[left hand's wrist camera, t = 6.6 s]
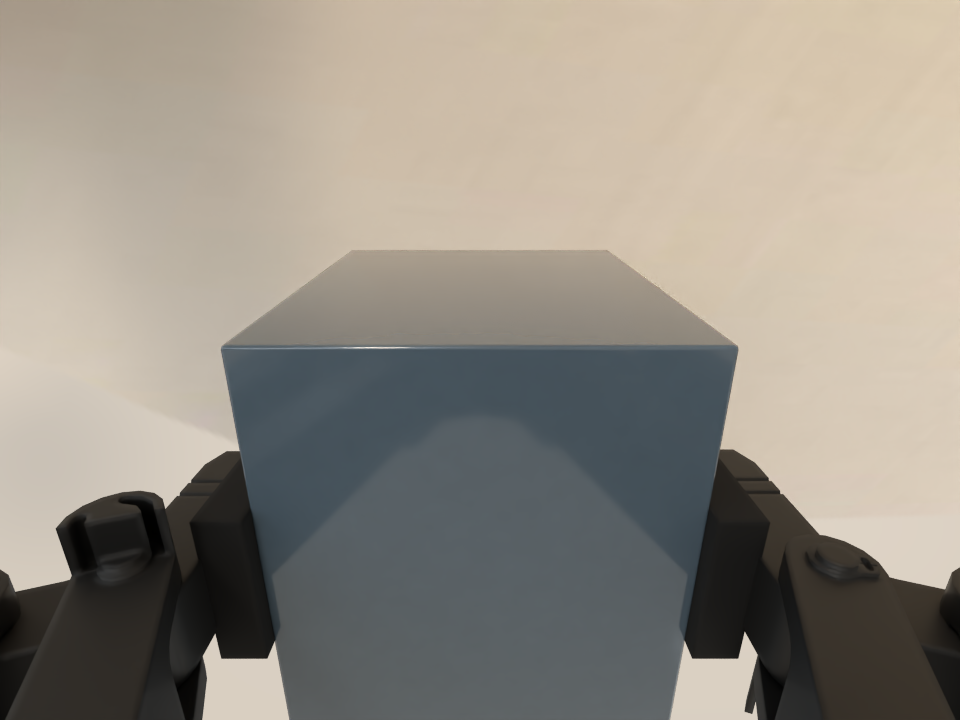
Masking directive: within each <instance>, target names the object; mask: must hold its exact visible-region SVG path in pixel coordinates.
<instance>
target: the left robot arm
mask: <svg viewBox="0 0 960 720" xmlns="http://www.w3.org/2000/svg"><path fill="white" fill-rule="evenodd" d="M56 531H57V534H58V537H59V540H60V542H61V545H62V548H63V551H64V554H65V557H66V560H67V563H68V565H69V568H70V571H71V574H72V577H71V579H70V580H68V581H64V582H59V583H55V584H50V585H45V586H41V587H36V588H31V589H27V590H22V591H18V592H15V590H14V588H13V585H12V583H11V580H10V578H9V575H8V574H6V573H5V572H3V571H2V570H0V720H202V716H203V708H204V699H205V690H206V682H207V676H206V669H205V664H204V660H203V654H204V653H205V651H206V649H207V647H208V645H209V644H210V642H211V640H212V638H213V636H214V635H215V634H216V638H217V642H218V646H219V650H220V655H221V658H222V659H266V658H268V656H269V653H270V651H271V649H272V646H273V644H274V642H275V639H274V633H273V628H272V622H271V617H270V611H269V606H268V601H267V595H266V590H265V584H264V579H263V574H262V568H261V563H260V557H259V552H258V547H257V541H256V536H255V530H254V525H253V520H252V514H251V509H250V503H249V498H248V493H247V487H246V482H245V476H244V471H243V466H242V460H241V455H240V451H227V452H225V453H223V454H222V455H220V456H218V457H217V458H215V459H213V460H212V461H210V462H209V463H207V464H205V465H204V466H203V468H202V469H201V470H200V471H199V472H198V473H197V474H196V475H195V477H194V478H193V479H192V480H191V483H188V484H187V486H186V487H185V488H184V489H183V490H182V491H181V492H180V496H177V497H176V498H175V499H174V500H173V501H172V502H171V504H170V505H169V506H168V507H167V508H166V509H165V506H164V503H163V499H162V498H161V497H159V496H158V495H156V494H155V493H151V492H144V491H133V492H122V493H118V494H114V495H110V496H107V497H103V498H100V499H98V500H96V501H93V502H91V503H89V504H86V505H84V506H82V507H80V508H79V509H77V510H76V511H74V512H73V513H71V514H70V515H68V516H67V517H66V518H65V519H64V520H63V521H62V522H61V523H60V524H59V525H58V527H57V528H56ZM744 632H746V634H747V636H748V638H749V640H750V641H751V643H752V645H753V647H754V649H755V650H756V652H757V654H758V656H757V660H756V664H755V668H754V672H753V676H752V680H751V684H750V688H749V692H748V696H747V700H746V706H745V712H748V713H751V714H752V713H753V709H754V705H755V702H756V706H757V715H758V720H960V568H958V569H957V570H955V571H954V572H952V574H951V576H950V579H949V581H948V584H947V586H946V589H945V590H944V589H939V588H935V587H930V586H926V585H921V584H916V583H912V582H907V581H902V580H898V579H894V578H890V577H889V576H888V574H887V573H886V571H885V570H884V569H883V567H882V566H881V565H880V564H879V562H877V561H876V560H875V559H874V558H872V557H871V556H870V555H868V554H867V553H866V552H864V551H863V550H861V549H859V548H857V547H855V546H853V545H851V544H849V543H847V542H845V541H841V540H838V539H835V538H831V537H828V536H823V535H819V534H818V533H817V532H816V530H815V529H814V528H813V527H812V526H811V525H810V524H809V523H808V521H807V520H806V519H805V518H804V517H803V516H802V515H801V514H800V513H799V511H798V510H797V509H796V508H795V507H794V506H793V505H792V504H791V503H790V501H789V500H788V499H787V498H786V497H785V496H784V495H783V494H780V490H779V489H778V488H777V487H776V486H775V485H774V484H773V482H772V481H769V478H768V477H767V476H766V475H765V474H764V472H763V471H762V470H761V469H760V468H759V467H758V466H757V465H756V464H755V463H754V462H753V461H751V460H749V459H748V458H746V457H745V456H743V455H741V454H740V453H738V452H736V451H735V450H720V452H719V457H718V463H717V468H716V473H715V479H714V484H713V490H712V495H711V500H710V506H709V511H708V517H707V522H706V528H705V533H704V538H703V544H702V549H701V555H700V560H699V566H698V571H697V576H696V582H695V587H694V593H693V598H692V603H691V609H690V614H689V620H688V625H687V631H686V636H685V642H686V645H687V647H688V649H689V652H690V654H691V656H692V658H693V659H737V658H738V657H739V653H740V649H741V644H742V640H743V636H744Z"/></svg>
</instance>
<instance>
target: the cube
mask: <svg viewBox="0 0 960 720" xmlns="http://www.w3.org/2000/svg"><path fill="white" fill-rule="evenodd" d="M221 352H222V357H223V363H224V368H225V374H226V379H227V384H228V390H229V395H230V401H231V406H232V411H233V417H234V422H235V428H236V433H237V439H238V444H239V449H240V455H241V460H242V466H243V471H244V476H245V482H246V487H247V493H248V498H249V503H250V509H251V514H252V520H253V525H254V530H255V536H256V541H257V547H258V552H259V557H260V563H261V568H262V574H263V579H264V584H265V590H266V595H267V601H268V606H269V611H270V617H271V622H272V628H273V633H274V639H275V644H276V649H277V655H278V660H279V666H280V671H281V676H282V682H283V687H284V692H285V698H286V703H287V709H288V714H289V720H670V717H671V712H672V706H673V701H674V696H675V690H676V685H677V679H678V674H679V668H680V663H681V657H682V652H683V647H684V641H685V636H686V631H687V625H688V620H689V614H690V609H691V603H692V598H693V593H694V587H695V582H696V576H697V571H698V566H699V560H700V555H701V549H702V544H703V538H704V533H705V528H706V522H707V517H708V511H709V506H710V500H711V495H712V490H713V484H714V479H715V473H716V468H717V463H718V457H719V452H720V446H721V441H722V435H723V430H724V425H725V419H726V414H727V408H728V403H729V398H730V392H731V387H732V381H733V376H734V370H735V365H736V360H737V354H738V346H737V345H736V344H734V343H733V342H732V341H730V340H729V339H728V338H726V337H725V336H723V335H722V334H721V333H719V332H718V331H717V330H715V329H714V328H713V327H711V326H710V325H708V324H707V323H706V322H704V321H703V320H702V319H700V318H699V317H698V316H696V315H695V314H694V313H692V312H691V311H689V310H688V309H687V308H685V307H684V306H683V305H681V304H680V303H679V302H677V301H676V300H674V299H673V298H672V297H670V296H669V295H668V294H666V293H665V292H664V291H662V290H661V289H660V288H658V287H657V286H655V285H654V284H653V283H651V282H650V281H649V280H647V279H646V278H645V277H643V276H642V275H640V274H639V273H638V272H636V271H635V270H634V269H632V268H631V267H630V266H628V265H627V264H626V263H624V262H623V261H621V260H620V259H619V258H617V257H616V256H615V255H613V254H612V253H611V252H609V251H607V250H352V251H350V252H349V253H348V254H346V255H345V256H344V257H342V258H341V259H340V260H338V261H337V262H335V263H334V264H333V265H331V266H330V267H329V268H327V269H326V270H325V271H323V272H322V273H320V274H319V275H318V276H316V277H315V278H314V279H312V280H311V281H310V282H308V283H307V284H305V285H304V286H303V287H301V288H300V289H299V290H297V291H296V292H295V293H293V294H292V295H291V296H289V297H288V298H286V299H285V300H284V301H282V302H281V303H280V304H278V305H277V306H276V307H274V308H273V309H271V310H270V311H269V312H267V313H266V314H265V315H263V316H262V317H261V318H259V319H258V320H256V321H255V322H254V323H252V324H251V325H250V326H248V327H247V328H246V329H244V330H243V331H241V332H240V333H239V334H237V335H236V336H235V337H233V338H232V339H231V340H229V341H228V342H226V343H225V344H224V345H222V347H221Z"/></svg>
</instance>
